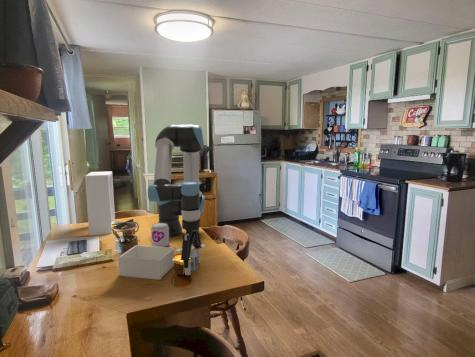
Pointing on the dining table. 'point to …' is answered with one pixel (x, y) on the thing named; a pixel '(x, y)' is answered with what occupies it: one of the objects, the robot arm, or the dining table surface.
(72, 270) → the dining table surface
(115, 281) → the dining table surface
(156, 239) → the supplement can
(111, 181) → the box
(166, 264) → the carton
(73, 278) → the dining table surface
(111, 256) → the flap
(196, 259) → the pill bottle
